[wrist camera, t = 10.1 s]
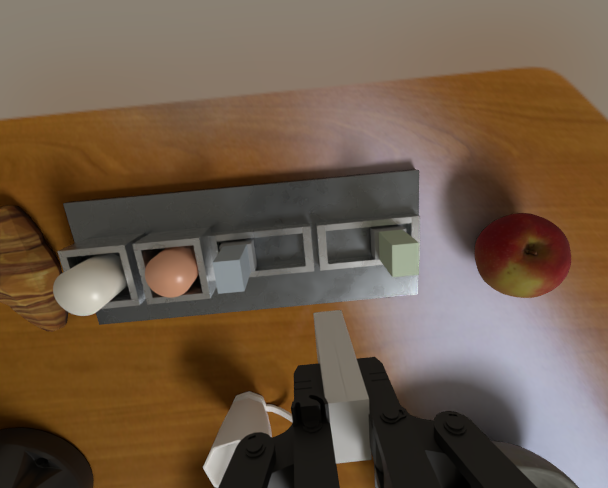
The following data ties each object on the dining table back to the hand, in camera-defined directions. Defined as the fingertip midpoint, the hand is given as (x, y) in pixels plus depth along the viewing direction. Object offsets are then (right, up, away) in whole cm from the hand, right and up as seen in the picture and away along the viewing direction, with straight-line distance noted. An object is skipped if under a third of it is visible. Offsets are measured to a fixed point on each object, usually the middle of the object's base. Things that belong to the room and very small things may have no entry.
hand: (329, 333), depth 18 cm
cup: (-6, -15, +22) cm, 28 cm away
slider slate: (-8, +4, +15) cm, 18 cm away
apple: (+19, +5, +17) cm, 26 cm away
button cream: (-20, +2, +13) cm, 24 cm away
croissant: (-29, +3, +17) cm, 34 cm away
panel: (-7, +4, +16) cm, 18 cm away
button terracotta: (-13, +3, +15) cm, 20 cm away
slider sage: (+7, +5, +15) cm, 17 cm away
